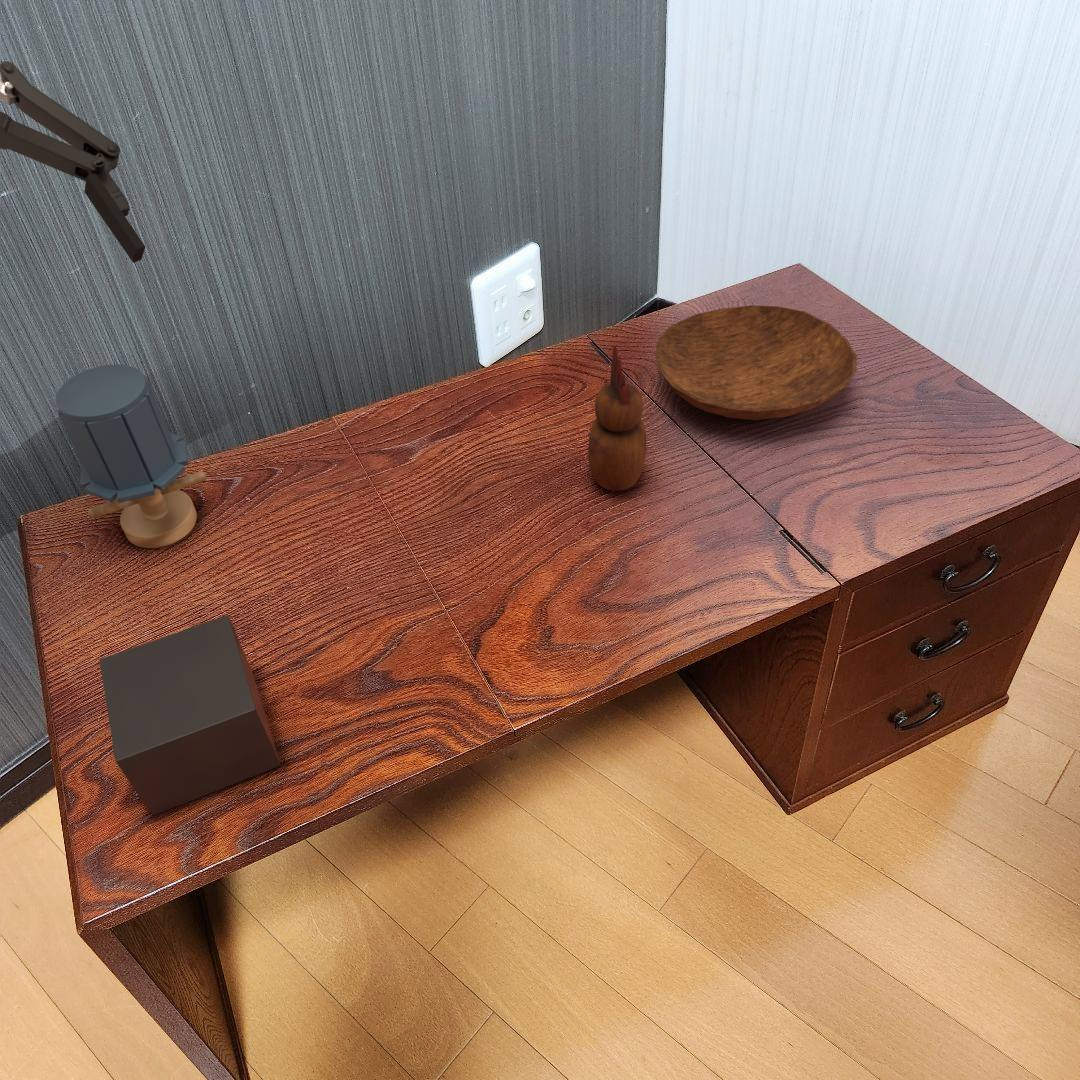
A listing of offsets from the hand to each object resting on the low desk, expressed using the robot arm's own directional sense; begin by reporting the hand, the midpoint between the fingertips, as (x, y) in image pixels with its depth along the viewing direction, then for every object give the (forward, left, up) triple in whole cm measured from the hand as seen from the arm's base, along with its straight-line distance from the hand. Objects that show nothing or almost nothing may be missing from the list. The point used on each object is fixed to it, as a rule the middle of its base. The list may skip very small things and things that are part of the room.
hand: (61, 290), depth 72 cm
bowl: (+44, +46, -28) cm, 70 cm away
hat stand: (-3, +1, -28) cm, 28 cm away
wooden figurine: (+36, +26, -28) cm, 53 cm away
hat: (-3, +1, -20) cm, 20 cm away
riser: (+18, -17, -28) cm, 37 cm away
